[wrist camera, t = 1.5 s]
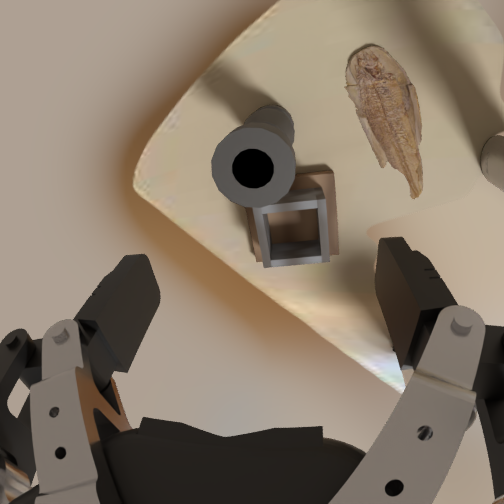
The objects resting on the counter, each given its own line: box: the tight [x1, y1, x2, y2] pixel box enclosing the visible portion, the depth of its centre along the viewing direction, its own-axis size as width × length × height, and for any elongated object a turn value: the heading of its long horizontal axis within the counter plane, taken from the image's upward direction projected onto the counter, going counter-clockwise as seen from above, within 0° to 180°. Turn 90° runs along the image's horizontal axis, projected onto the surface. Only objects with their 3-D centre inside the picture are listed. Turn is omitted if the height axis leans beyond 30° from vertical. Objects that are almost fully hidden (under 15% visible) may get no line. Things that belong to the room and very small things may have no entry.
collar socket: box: [245, 171, 339, 268], centre depth 45 cm, size 14×14×6 cm
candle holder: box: [211, 105, 296, 208], centre depth 30 cm, size 6×6×25 cm
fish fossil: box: [345, 46, 423, 199], centre depth 38 cm, size 26×10×1 cm, turn 29°
